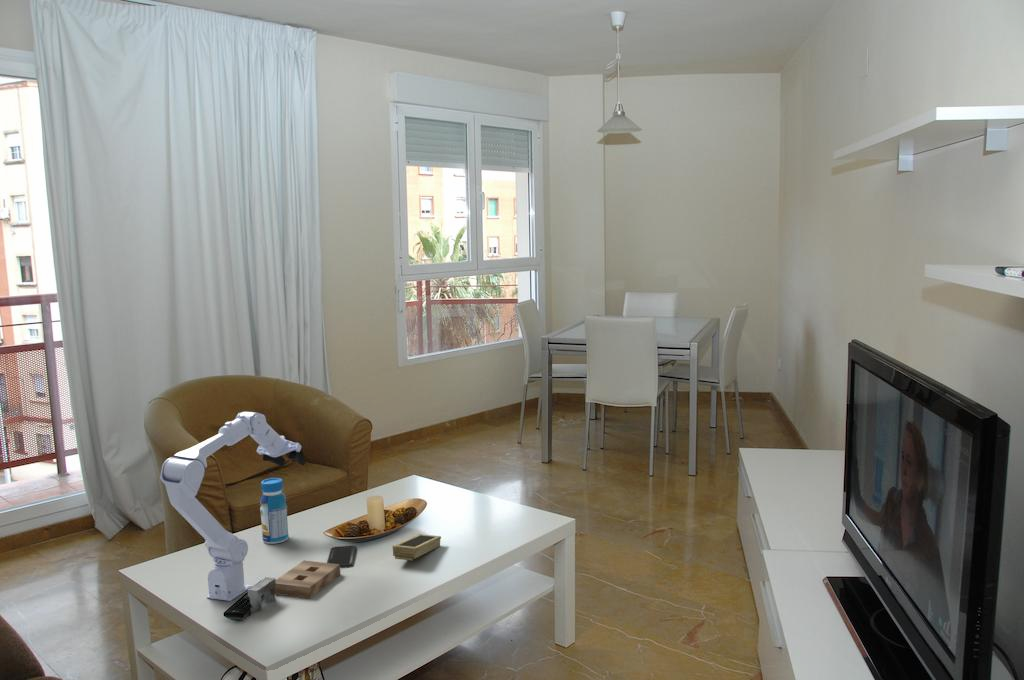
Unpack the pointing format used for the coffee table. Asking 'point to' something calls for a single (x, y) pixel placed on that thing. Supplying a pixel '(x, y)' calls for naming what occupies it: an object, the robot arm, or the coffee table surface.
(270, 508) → the beverage bottle
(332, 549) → the phone
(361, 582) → the coffee table surface
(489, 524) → the coffee table surface
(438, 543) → the box
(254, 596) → the metal staple
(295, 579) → the wooden board with holes
